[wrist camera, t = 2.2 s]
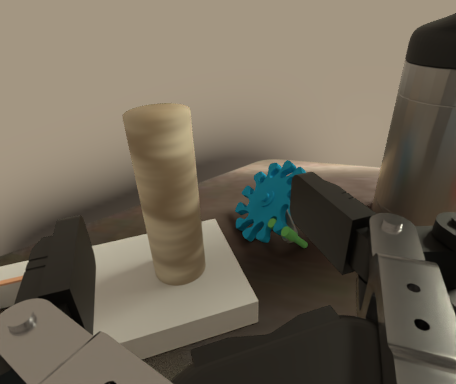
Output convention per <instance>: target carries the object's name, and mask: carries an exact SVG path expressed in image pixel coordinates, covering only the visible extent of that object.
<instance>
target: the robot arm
mask: <svg viewBox="0 0 456 384" xmlns="http://www.w3.org/2000/svg"><path fill="white" fill-rule="evenodd" d="M290 215H291V218H292V220H293V222H294V223H295V224H296V225H297V226H298V227H299V228H300V229H301V231H302V232H303V233H304V234H305V235H306V236H307V237H308V238H309V239H310V240H311V241H312V243H313V244H314V245H315V246H316V247H317V248H318V249H319V250H320V251H321V252H322V253H323V254H324V256H325V257H326V258H327V259H328V260H329V261H330V262H331V263H332V264H333V265H334V266H335V268H336V269H337V270H338V271H339V272H340V273H341V274H342V275H343V274H347V273H350V272H353V271H356V272H357V273H358V274H357V278H356V311H357V317H355V316H344V315H337V313H336V312H335V311H334V310H333V308H332V307H331V306H330V305H328V306H325V307H322V308H319V309H316V310H313V311H310V312H307V313H304V314H300V315H298V316H297V317H295V318H294V319H292V320H290V321H289V322H287V323H286V324H284V325H283V326H281V327H280V328H278V329H277V330H275V331H274V332H272V333H270V334H267V335H257V336H244V337H231V338H226V339H223V340H220V341H217V342H213V343H210V344H207V345H204V346H201V347H198V348H195V349H192V350H191V356H192V362H193V363H191V364H190V365H188V366H187V367H185V368H184V369H183V370H182V371H181V372H179V373H178V374H177V375H176V376H175V377H174V378H173V379H172V380H171V381H169V380H168V379H166V378H165V377H164V376H162V375H161V374H160V373H158V372H157V371H156V370H154V369H153V368H152V367H150V366H149V365H148V364H146V363H145V362H144V361H142V360H141V359H140V358H138V357H137V356H136V355H134V354H133V353H132V352H130V351H129V350H128V349H126V348H125V347H124V346H122V345H121V344H120V343H118V342H117V341H116V340H114V339H113V338H112V337H110V336H109V335H108V334H106V333H104V332H102V331H99V332H98V333H96V334H95V335H94V336H93V325H94V303H95V280H96V262H95V256H94V251H93V248H92V245H91V242H90V238H89V235H88V232H87V229H86V226H85V222H84V219H83V217H82V216H81V215H80V216H75V217H70V218H64V219H59V220H57V221H56V225H55V229H54V233H53V236H48V237H43V238H42V239H41V240H40V241H39V242H38V243H37V244H36V245H35V246H34V247H33V248H32V250H31V253H30V257H29V260H28V261H29V262H28V263H27V266H26V269H25V270H26V272H24V275H23V278H22V281H21V284H20V287H19V290H18V293H17V296H16V299H15V303H14V305H13V306H11V307H9V308H8V309H6V310H5V311H4V312H2V313H1V314H0V384H456V13H455V14H453V15H450V16H448V17H445V18H442V19H439V20H436V21H433V22H430V23H427V24H425V25H423V26H421V27H419V28H417V29H416V30H415V31H414V32H413V34H412V36H411V38H410V41H409V45H408V50H407V54H406V60H405V63H404V67H403V72H402V76H401V81H400V85H399V89H398V94H397V99H396V103H395V107H394V112H393V117H392V121H391V125H390V130H389V134H388V138H387V143H386V147H385V152H384V157H383V160H382V165H381V169H380V173H379V178H378V182H377V186H376V191H375V195H374V200H373V204H372V210H371V209H369V208H368V207H367V206H365V205H364V204H363V203H361V202H360V201H358V200H357V199H356V198H353V196H351V195H350V194H349V193H346V191H344V190H343V189H342V188H340V187H339V186H337V185H335V184H332V183H330V182H327V181H324V180H323V179H322V178H320V177H319V176H318V175H316V174H315V173H313V172H308V173H302V174H297V175H294V176H293V178H292V183H291V196H290Z"/></svg>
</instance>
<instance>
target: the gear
mask: <svg viewBox="0 0 456 384" xmlns="http://www.w3.org/2000/svg"><path fill="white" fill-rule="evenodd" d="M281 168H282V169H281ZM292 172H293V173H292ZM290 173H291V174H290ZM302 173H306V172H305V170H304V169H303V168H301V167H298V168H297V169H296V166H295V165H294V164H293V163H291V162H290V161H288V160H287V161H286V162H285V163H284V165H283V167H281V166H280V165H279V164H277V163H272V164H270V166H269V171H268V175H267V177H266V175H265V174H264V173H263V172H259V173H257V174H256V175H255V176H254V180H255V181H256V188H255V191H254V189H252V188H251V187H250V186H247V187H246V188H245V189H244V190H243V191H242V194H243V195H244V196H245V197H247V198H249V204H248V205H247V206H246V205H245V204H243V203H241V202H240V203H238V205H237V207H236V210H235V211H236V212H237V213H239V214H240V215H243V214H245V213H249V215H248V217H247V218H246V219H242V218H238V219H237V220H236V228H237V229H239V230H240V231H243V230H244V231H243V233H242V234H243V236H244V238H245V239H247V240H248V241H250V242H251V241H253V240H254V238H255V236H256V239H258V240H260V241H261V242H263V243H268V242H269V240H270V233H271V229H273V231H274V232H275V233H277V234H278V235H281V238H282V239H283V240H284V241H286V242H287V243H293V242H295V243H296V244H298V245H299V246H301V247H302V248H306V247H307V246H308V243H307V242H306V241H304V240H303V239H301V238H300V237H298V231H297V229H296V227H295V225H294V224H295V223H294V222H293V220H292V218H291V215H290V196H291V183H292V178H293V176H294V175H297V174H302ZM288 174H290V175H288ZM286 175H288V176H286ZM285 176H286V177H285ZM253 223H254V224H253ZM250 224H253V225H252V227H250V228H246V227H248V226H249V225H250ZM263 226H264V227H263ZM262 227H263V228H262ZM261 228H262V229H261ZM260 229H261V230H260ZM259 230H260V231H259ZM258 231H259V232H258ZM257 232H258V233H257Z"/></svg>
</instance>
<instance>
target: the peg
mask: <svg viewBox="0 0 456 384" xmlns="http://www.w3.org/2000/svg"><path fill="white" fill-rule="evenodd" d="M123 121H124V125H125V131H126V136H127V140H128V145H129V150H130V155H131V159H132V164H133V169H134V174H135V178H136V183H137V188H138V193H139V197H140V202H141V207H142V212H143V216H144V221H145V226H146V231H147V236H148V240H149V245H150V250H151V255H152V259H153V264H154V269H155V273H156V276H157V278H158V279H159V280H160V281H161V282H163V283H165V284H168V285H174V286H178V285H185V284H188V283H191V282H193V281H195V280H196V279H198V278H199V277H200V276H201V275H202V273H203V272H204V270H205V266H206V263H205V253H204V243H203V233H202V223H201V213H200V203H199V193H198V183H197V173H196V163H195V153H194V142H193V132H192V122H191V112H190V108H189V107H187V106H185V105H181V104H171V103H164V104H163V103H162V104H151V105H145V106H140V107H136V108H133V109H131V110H128V111H126V112H125V113H124V114H123Z"/></svg>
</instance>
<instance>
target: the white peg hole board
mask: <svg viewBox="0 0 456 384" xmlns="http://www.w3.org/2000/svg"><path fill="white" fill-rule="evenodd" d="M201 223H202V233H203V243H204V253H205V263H206V266H205V270H204V272H203V273H202V275H201V276H200V277H199V278H198V279H196V280H195V281H193V282H191V283H188V284H185V285H178V286H174V285H168V284H165V283H163V282H161V281H160V280H159V279H158V278H157V276H156V273H155V269H154V264H153V259H152V255H151V250H150V245H149V240H148V236H147V234H144V235H140V236H136V237H131V238H127V239H122V240H118V241H113V242H109V243H104V244H100V245H95V246H92V248H93V251H94V256H95V262H96V280H95V303H94V325H93V336H94V335H95V334H96V333H98V332H99V331H102V332H104V333H106V334H108V335H109V336H110V337H112V338H113V339H114V340H116V341H117V342H118V343H120V344H121V345H122V346H124V347H125V348H126V349H128V350H129V351H130V352H132V353H133V354H134V355H136V356H137V357H138V358H140V359H141V360H142V359H145V358H149V357H152V356H155V355H158V354H161V353H164V352H167V351H170V350H173V349H176V348H179V347H183V346H186V345H189V344H192V343H195V342H198V341H201V340H204V339H207V338H210V337H213V336H217V335H220V334H223V333H226V332H229V331H232V330H235V329H238V328H241V327H244V326H248V325H251V324H254V323H257V322H258V302H259V301H258V299H257V297H256V295H255V293H254V292H253V290H252V288H251V286H250V284H249V282H248V280H247V278H246V276H245V275H244V273H243V271H242V269H241V267H240V265H239V263H238V261H237V259H236V258H235V256H234V254H233V252H232V250H231V248H230V246H229V244H228V243H227V241H226V239H225V237H224V235H223V233H222V231H221V229H220V227H219V226H218V224H217V222H216V220H215V219H211V220H207V221H202V222H201ZM28 262H29V261H24V262H20V263H15V264H11V265H6V266H2V267H0V309H2V308H6V307H10V306H13V305H14V303H15V299H16V296H17V293H18V290H19V287H20V284H21V281H22V278H23V275H24V272H26V270H25V269H26V266H27V263H28Z"/></svg>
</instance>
